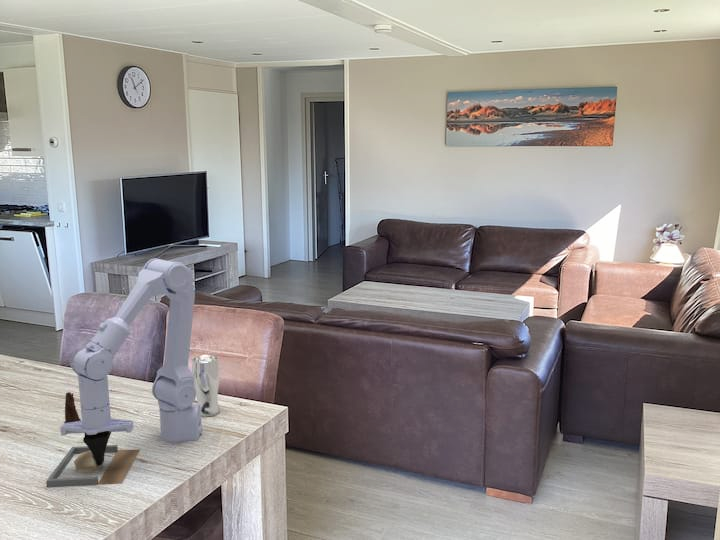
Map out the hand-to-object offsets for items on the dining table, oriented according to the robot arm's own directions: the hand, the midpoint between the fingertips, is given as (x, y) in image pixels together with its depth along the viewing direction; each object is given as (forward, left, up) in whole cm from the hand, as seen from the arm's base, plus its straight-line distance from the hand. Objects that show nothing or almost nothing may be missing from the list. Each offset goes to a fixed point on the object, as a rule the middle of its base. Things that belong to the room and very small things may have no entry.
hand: (100, 463), depth 138 cm
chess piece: (+13, -22, -2) cm, 26 cm away
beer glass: (-19, -30, -2) cm, 35 cm away
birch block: (+2, 0, -1) cm, 2 cm away
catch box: (+3, 0, -2) cm, 4 cm away
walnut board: (-4, 0, -2) cm, 5 cm away
